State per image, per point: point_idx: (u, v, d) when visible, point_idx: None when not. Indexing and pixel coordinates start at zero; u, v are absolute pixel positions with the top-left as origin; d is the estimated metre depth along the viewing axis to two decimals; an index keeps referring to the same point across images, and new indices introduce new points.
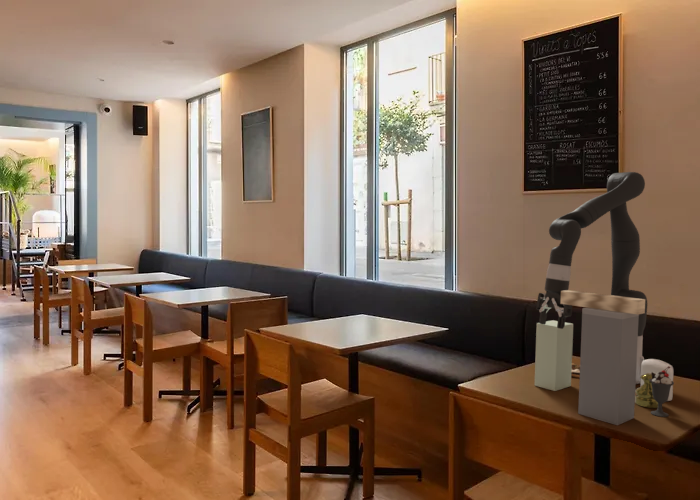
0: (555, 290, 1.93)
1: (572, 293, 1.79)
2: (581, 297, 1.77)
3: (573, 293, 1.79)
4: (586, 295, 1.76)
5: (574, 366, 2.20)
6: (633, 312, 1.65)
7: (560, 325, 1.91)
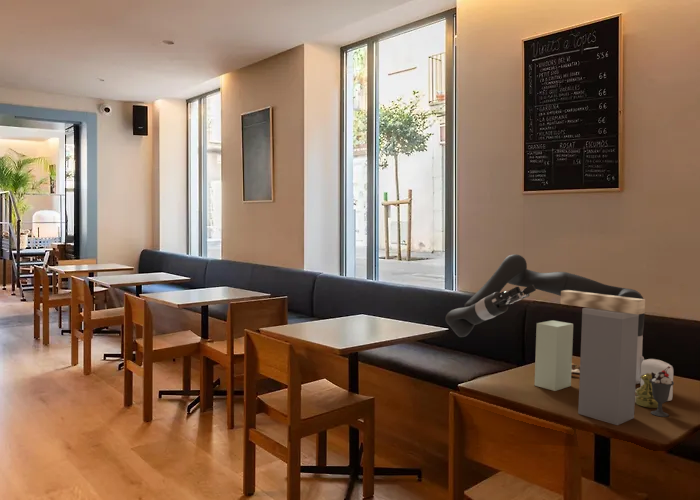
0: (498, 309, 2.00)
1: (572, 293, 1.79)
2: (581, 297, 1.77)
3: (573, 293, 1.79)
4: (586, 295, 1.76)
5: (574, 366, 2.20)
6: (633, 312, 1.65)
7: (516, 292, 1.91)
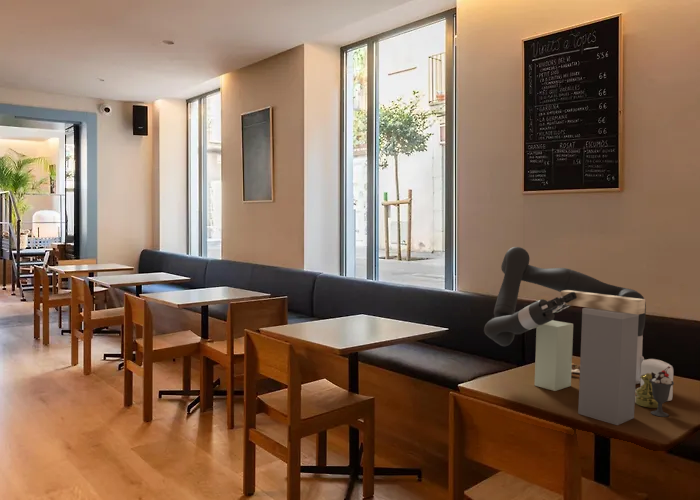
0: (544, 318, 1.86)
1: None
2: (581, 297, 1.77)
3: None
4: (586, 295, 1.76)
5: (574, 366, 2.20)
6: (633, 312, 1.65)
7: (572, 298, 1.78)
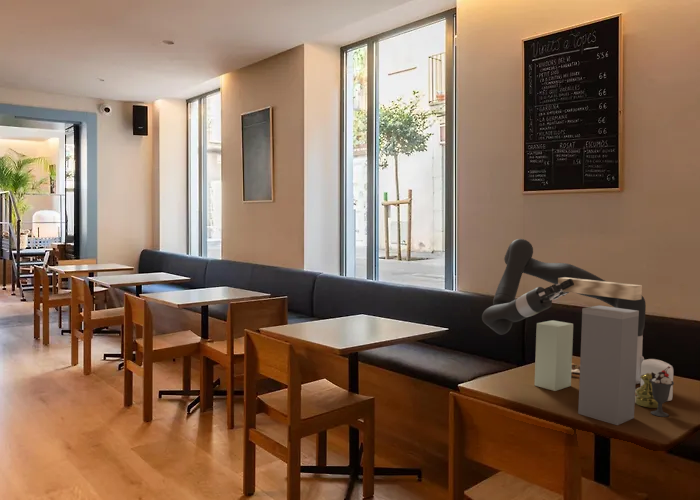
0: (541, 305, 1.87)
1: None
2: (578, 284, 1.77)
3: None
4: (583, 282, 1.76)
5: (574, 366, 2.20)
6: (630, 298, 1.65)
7: (569, 285, 1.79)
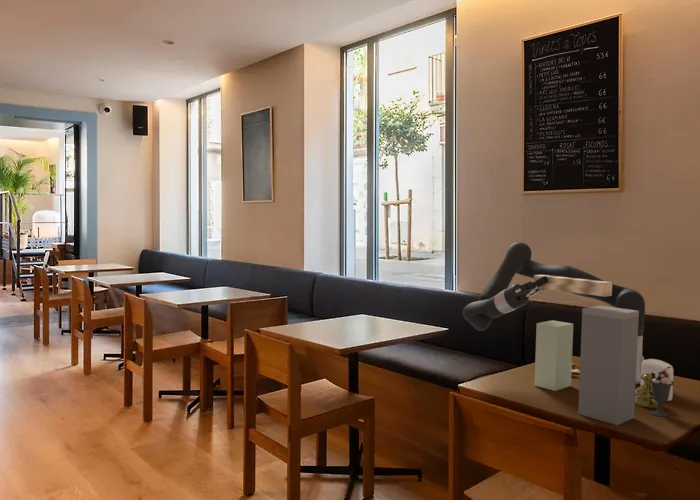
0: (518, 302, 1.94)
1: None
2: (553, 281, 1.84)
3: None
4: (557, 279, 1.83)
5: (574, 366, 2.20)
6: (600, 294, 1.72)
7: (544, 282, 1.86)
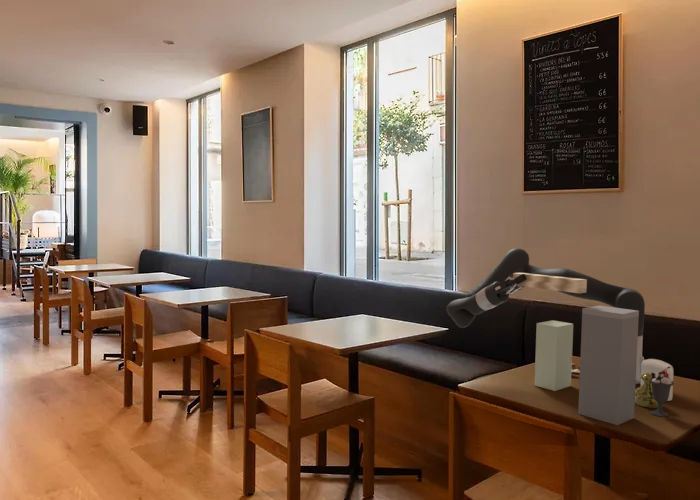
0: (498, 299, 2.00)
1: None
2: (530, 279, 1.90)
3: None
4: (535, 276, 1.89)
5: (574, 366, 2.20)
6: (575, 291, 1.78)
7: (522, 279, 1.92)
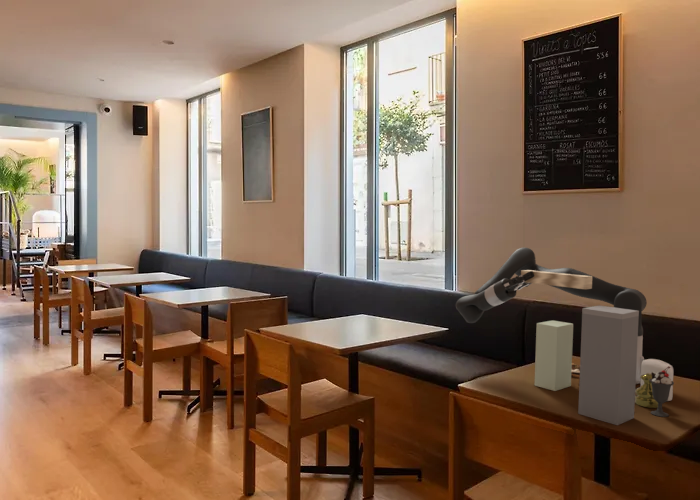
0: (507, 295, 2.09)
1: None
2: (538, 275, 2.00)
3: None
4: (542, 273, 1.99)
5: (574, 366, 2.20)
6: (581, 287, 1.88)
7: (530, 276, 2.01)
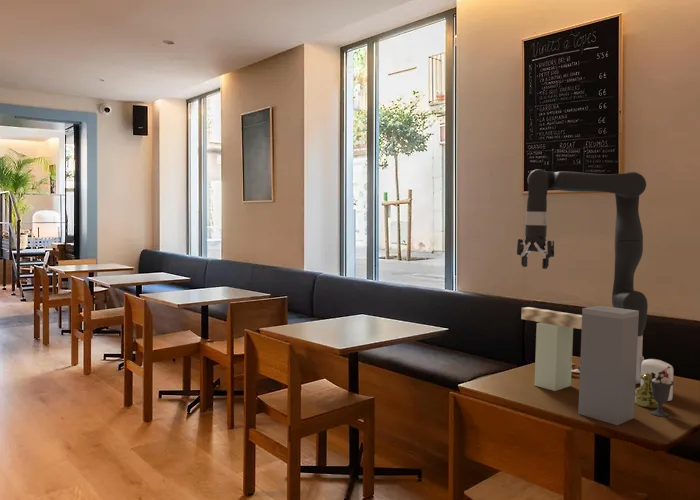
0: None
1: (531, 310, 2.08)
2: (538, 314, 2.06)
3: (531, 310, 2.08)
4: (542, 312, 2.05)
5: (574, 366, 2.20)
6: (580, 327, 1.94)
7: None
